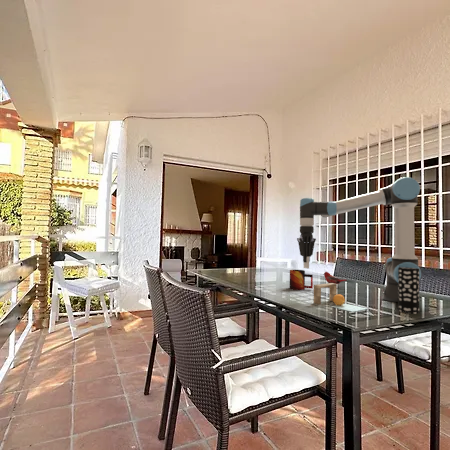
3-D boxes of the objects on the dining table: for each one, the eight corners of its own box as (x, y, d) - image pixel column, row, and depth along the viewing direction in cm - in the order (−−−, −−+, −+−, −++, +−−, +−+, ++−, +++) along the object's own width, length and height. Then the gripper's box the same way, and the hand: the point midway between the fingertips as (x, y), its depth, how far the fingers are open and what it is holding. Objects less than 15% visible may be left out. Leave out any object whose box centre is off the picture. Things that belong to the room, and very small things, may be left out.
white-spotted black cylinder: (394, 309, 145) (394, 267, 145) (410, 309, 145) (410, 267, 146) (406, 313, 136) (406, 269, 137) (423, 313, 137) (423, 269, 138)
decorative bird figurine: (324, 285, 214) (324, 271, 215) (348, 289, 201) (348, 273, 201) (321, 285, 212) (322, 271, 213) (346, 289, 199) (346, 274, 200)
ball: (336, 299, 155) (343, 307, 151) (329, 300, 152) (336, 308, 148) (341, 291, 153) (349, 299, 149) (334, 292, 150) (342, 300, 146)
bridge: (336, 301, 160) (336, 283, 160) (318, 304, 152) (318, 285, 153) (331, 300, 163) (331, 283, 163) (313, 303, 155) (313, 284, 155)
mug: (313, 290, 193) (313, 271, 193) (291, 290, 193) (291, 271, 193) (308, 287, 202) (308, 269, 203) (288, 287, 202) (288, 269, 203)
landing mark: (368, 309, 144) (368, 308, 144) (352, 312, 137) (352, 311, 137) (345, 304, 154) (345, 303, 154) (330, 306, 147) (330, 306, 147)
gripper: (309, 226, 177) (309, 267, 176) (293, 225, 169) (293, 268, 169) (319, 226, 170) (319, 268, 169) (303, 225, 163) (303, 269, 162)
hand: (306, 268), depth 169 cm, fingers closed
